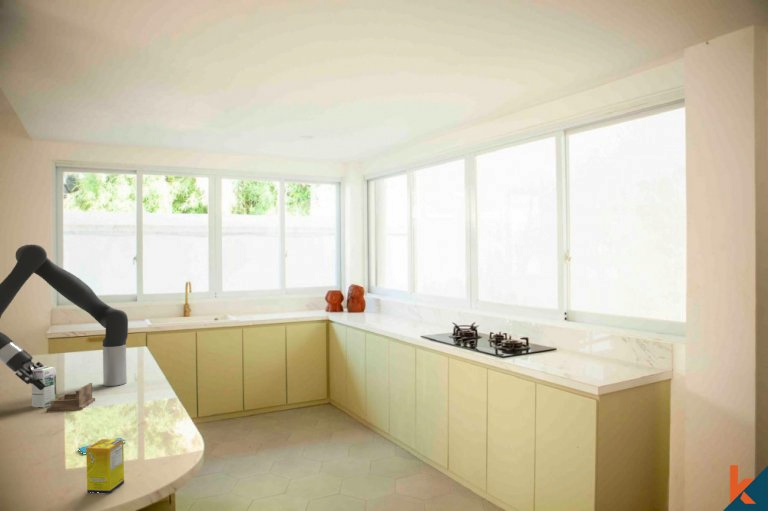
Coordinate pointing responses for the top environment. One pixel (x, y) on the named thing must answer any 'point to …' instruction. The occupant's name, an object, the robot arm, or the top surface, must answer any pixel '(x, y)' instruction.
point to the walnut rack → (73, 400)
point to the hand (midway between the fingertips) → (48, 385)
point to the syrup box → (49, 391)
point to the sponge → (83, 449)
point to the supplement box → (105, 465)
